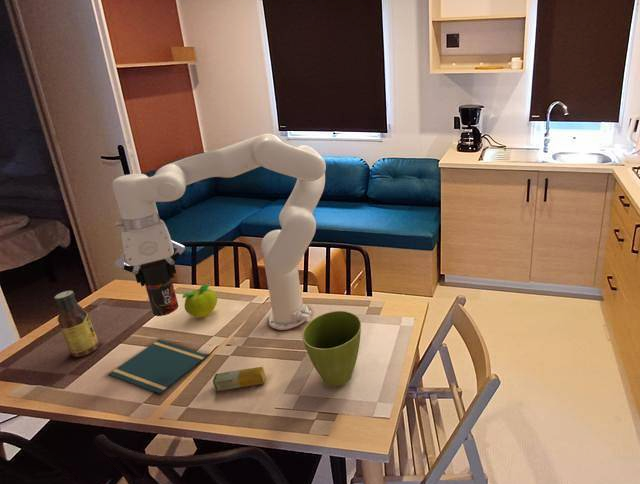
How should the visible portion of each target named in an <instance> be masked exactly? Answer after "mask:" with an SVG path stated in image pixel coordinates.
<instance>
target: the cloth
mask: <svg viewBox="0 0 640 484" xmlns="http://www.w3.org/2000/svg"><path fill="white" fill-rule="evenodd" d="M207 357H208V355H207V354H204V353H201V352H199V351H195V350H192V349H189V348H185V347H182V346H179V345H176V344H173V343H170V342H166V341H164V340H160V339H158V340H157V341H154V342H153V343H152V344H151V345H149V346H148V347H146V348H145V349H143V350H142V351H140V352H139V353H137V354H136V355H134V356H133V357H132V358H130V359H128V360H126V361H125V362H124V363H122V364H121V365H119V366H118V367H116V368H114V369H113V370H111V371H110V372H109V373H108V376H110V377H113V378H117V379H119V380H122V381H125V382H127V383H129V384H132V385H135V386H137V387H140V388H142V389H145V390H148V391H151V392H153V393H156V394H159V395H161V394H162V393H164V392H165V391H167V389H169V388H170V387H171V386H173V384H175V383H176V382H178V381H179V380H180V379H181V378H182V377H183V376H185V375H186V374H187V373H189V372H190V371H191V370H192V369H193V368H195V367H196V366H197V365H198V364H200V363H201V362H202V361H204V360H205V359H206V358H207Z"/></svg>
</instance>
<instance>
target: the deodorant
mask: <svg viewBox="0 0 640 484" xmlns="http://www.w3.org/2000/svg"><path fill="white" fill-rule="evenodd" d="M139 268H140V269H141V272H142V276H143V279H144V283H145V285H144V286H145V290H146V292H147V293H146V294H147V296H148V301H149V303H150V306H151V310H152V314H153V315H154V316H156V317H163V316H168V315H170V314H172V313H174V312H175V311H176V310H178V308H179V302H178V299H177V295H176V291H175V287H174V283H173V278H171V277H170V273H169V269H168V263H167V261H166V260H165V259H162V260H158V261H154V262H150V263H146V264H142V265H140V267H139Z"/></svg>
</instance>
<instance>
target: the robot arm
mask: <svg viewBox="0 0 640 484" xmlns="http://www.w3.org/2000/svg"><path fill="white" fill-rule="evenodd" d="M260 167H262V168H265V169H267V170H269V171H272V172H275V173H279V174H280V175H281V174H282V175H284V176H288V177H292V178H294V179H296V182H295V184H294V187H293V189H292V191H291V193H290V195H289V196H288V198H287V200H286V202H285V204H284V206H283V207H282V209H281V210H280V213H279V214H278V222H279V225H280V227H281V229H273V230H271V231H269V232H267V233H266V234H265V235H264V236H263V237H262V240H261V243H260V252H261V256H262V261H263V265H264V271H265V277H266V283H267V289H268V295H269V300H270V305H271V314H270V315H269V317H268V324H269V326H270V327H271V328H272V329H274V330H279V331H280V330H281V331H284V330H290V329H294V328H296V327H298V326H300V325H302V324H303V323H304V322H310V321H311V320H312V319H311V318H312V316H311V315H312V314H313V310H309V307H308V306H307V305H306V303H304V302H303V296H302V295H303V294H302V289H301V281H300V276H299V275H300V273H299V267H298V265H299V264H300V262H301V260H302V259H303V257H304V255H305V253H306V251H307V250H308V248H309V246H310V244H311V242H312V241H313V238H314V236H315V234H316V230H317V221H316V218H315V216H314V215H313V214H314V212H315V209H316V207H317V205H318V204H319V202H320V199H321V197H322V195H323V192H324V191H325V190H324V189H325V185H326V170H327V164H326V161H325V159H324V158H323V156H322V155H321V154H320V153H318V151H316V150H315V149H314V148H313V147H311V146H310V145H309V146H308V145H299V146H298V147H296V146H294V145H291V144H288V143H286V142H284V141H282V140H281V139H280V138H279V137H278V136H276V135H275V134H274V133H273V134H272V133H261V134H259V135H255V136H252V137H250V138H247V139H244V140H241V141H238V142H235V143H233V144H230V145H227V146H223V147H221V148H219V149H214V150H210V151H206V152H201V153H198V154H195V155H191V156H187V157H184V158H181V159H179V160H176V161H173V162H170V163H167V164H165V165H163V166H161V167H160V168H158V169H157V170H156V171H155V173H154V175H152V176H148V175H147V174H144V173H129V174H124V175H121V176H118V177H115V179H113V181H112V191H113V193H114V196H115V198H116V204H117V207H118V210H119V214H120V217H121V218H120V219H119V220H116V221H115V227H122V229H121V232H120V234H121V236H120V237H121V244H122V248H123V253H122V254H121V255H120V256H119V258H118V259H117V260H116V261H115V262H114V267H116V268H118V269H121V270H124V271H127V272H129V273H131V274H132V275H134V277H135V280H136V283H137V284H140V286H141V287H144V286H145V283H144V279H143V276H142V272H141V269H140V265H142V264H146V263H150V262H154V261H158V260H162V259H165V260H166V261H167V263H168V269H169V273H170V277H171V279H173V278H175V274H176V273H177V270H176V269H177V268H176V266H175V263H176V261H177V260H178V259H179V258H180V256H181V255H182V254H183V253H184V251H185V250H186V246H185V245H183V244H181V243H179V242H176V241H174V240H172V238H171V234H170V233H169V229H168V227H167V225H166V223H165V221H164V220H163V219H161V218H160V214H159V211H158V207H157V203H167V202H174V201H177V200H179V199H180V198H182V197H183V196H184V195H185V192H186V188H187V186H189V185H191V184H194V183H197V182H199V181H202V180H206V179H210V178H226V179H227V178H228V179H229V178H234V177H236V176H237V177H238V176H240V175H242V174H245V173H247V172H250V171H253V170H255V169H257V168H260ZM174 249H176V250H174ZM174 251H175V252H174ZM125 261H126V262H125Z"/></svg>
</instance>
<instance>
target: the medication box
mask: <svg viewBox="0 0 640 484" xmlns="http://www.w3.org/2000/svg"><path fill="white" fill-rule="evenodd" d="M265 381H266V373H265V369H264V366H258V367H257V366H256V367H251V368H246V369H245V368H244V369H238V370H231V371H225V372H220V373H219V372H218V373H215V374H214V377H213V381H212V383H213V386H214V388H215V391H216V392H219V391H226V390H232V389H237V388H239V389H240V388H244V387H252V386H256V385H257V386H258V385H263V384H265Z"/></svg>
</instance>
